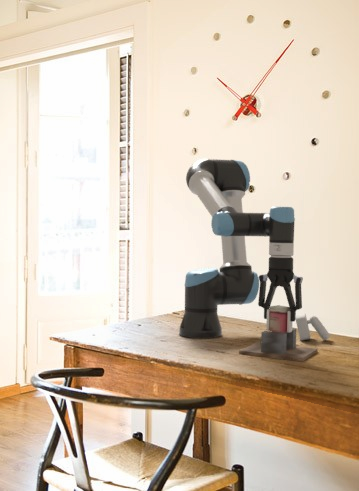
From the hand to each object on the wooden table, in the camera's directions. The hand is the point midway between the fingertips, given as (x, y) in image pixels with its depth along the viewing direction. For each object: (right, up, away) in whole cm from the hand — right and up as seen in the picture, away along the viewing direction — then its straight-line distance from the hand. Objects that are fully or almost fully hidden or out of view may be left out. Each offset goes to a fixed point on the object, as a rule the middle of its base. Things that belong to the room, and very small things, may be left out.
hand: (279, 330), depth 198 cm
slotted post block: (0, -7, 0) cm, 7 cm away
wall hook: (+15, -7, +23) cm, 28 cm away
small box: (0, -1, 0) cm, 1 cm away
